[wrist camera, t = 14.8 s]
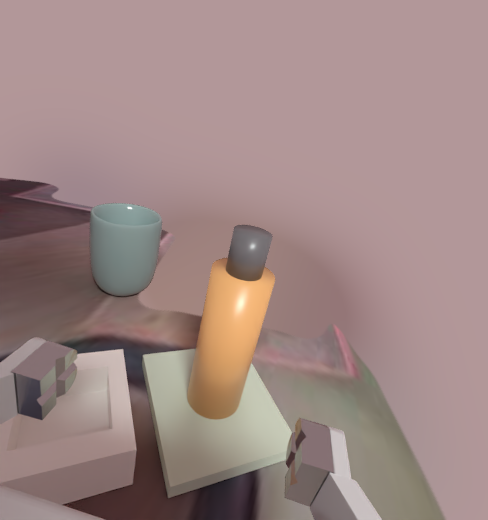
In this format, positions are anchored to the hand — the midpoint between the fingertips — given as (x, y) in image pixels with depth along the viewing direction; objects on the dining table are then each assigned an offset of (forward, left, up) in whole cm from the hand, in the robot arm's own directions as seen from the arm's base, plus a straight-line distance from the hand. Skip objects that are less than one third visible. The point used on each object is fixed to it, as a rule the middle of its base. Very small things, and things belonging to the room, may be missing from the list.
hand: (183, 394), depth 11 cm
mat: (-10, +7, -14) cm, 18 cm away
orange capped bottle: (-10, +7, -13) cm, 17 cm away
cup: (-30, +1, -14) cm, 33 cm away
